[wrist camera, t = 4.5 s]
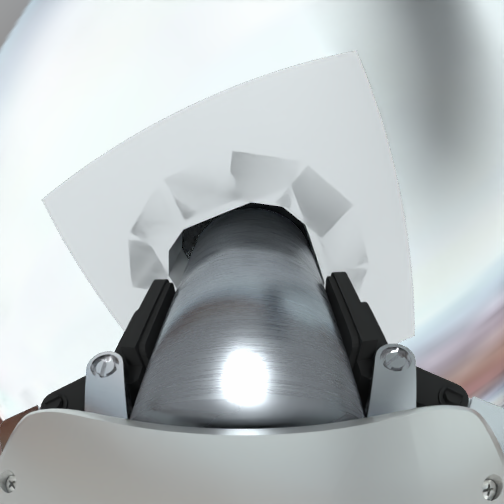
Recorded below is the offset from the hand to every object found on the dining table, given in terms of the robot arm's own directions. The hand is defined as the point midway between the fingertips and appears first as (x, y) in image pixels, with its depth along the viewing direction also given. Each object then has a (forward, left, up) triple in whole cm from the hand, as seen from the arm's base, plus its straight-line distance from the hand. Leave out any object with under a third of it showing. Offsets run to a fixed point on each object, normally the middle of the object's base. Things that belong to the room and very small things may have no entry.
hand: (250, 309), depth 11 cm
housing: (0, 0, -5) cm, 5 cm away
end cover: (0, 0, -4) cm, 4 cm away
